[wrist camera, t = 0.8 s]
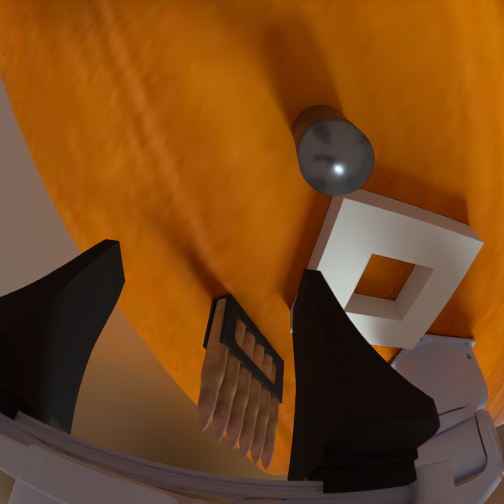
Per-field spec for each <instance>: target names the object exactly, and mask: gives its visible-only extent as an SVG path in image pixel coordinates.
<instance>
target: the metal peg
mask: <svg viewBox="0 0 504 504" xmlns="http://www.w3.org/2000/svg"><path fill="white" fill-rule="evenodd" d="M293 136H294V141H295V146H296V151H297V156H298V162H299V167H300V171H301V173H302V176H303V177H304V179H305V180H306V182H307V183H308V184H309V185H310V186H311V187H312V188H313V189H315V190H317V191H318V192H320V193H323V194H326V195H331V196H341V195H346V194H349V193H352V192H354V191H356V190H357V189H359V188H360V187H361V186H363V185H364V184H365V182H366V181H367V180H368V178H369V177H370V175H371V173H372V170H373V167H374V152H373V148H372V145H371V143H370V141H369V140H368V138H367V137H366V136H365V135H364V134H363V133H362V132H361V131H360V130H359V129H358V128H357V127H356V126H354V125H353V124H352V123H351V122H350V121H349V120H347V119H346V118H345V117H344V116H343V115H342V114H340V113H339V112H338V111H337V110H335V109H333V108H331V107H328V106H322V105H319V106H313V107H310V108H307V109H306V110H304V111H303V112H302V113H301V114H300V115H299V116H298V117H297V119H296V121H295V123H294V128H293Z"/></svg>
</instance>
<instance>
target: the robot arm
mask: <svg viewBox="0 0 504 504" xmlns="http://www.w3.org/2000/svg"><path fill="white" fill-rule="evenodd" d="M124 283H125V277H124V271H123V264H122V258H121V250H120V243H119V241H115V240H109V239H105V240H103V241H102V242H100V243H98V244H96V245H95V246H93V247H91V248H90V249H88V250H87V251H85V252H84V253H82V254H80V255H79V256H77V257H76V258H74V259H73V260H71V261H70V262H68V263H66V264H65V265H63V266H61V267H60V268H58V269H56V270H55V271H53V272H51V273H50V274H48V275H47V276H45V277H43V278H41V279H39V280H37V281H35V282H33V283H31V284H29V285H27V286H25V287H23V288H21V289H19V290H17V291H14V292H11V293H9V294H7V295H4V296H2V297H0V470H2V471H4V472H5V473H7V474H8V475H10V476H11V477H13V478H15V479H16V481H15V484H14V487H13V490H12V493H11V496H10V500H9V503H8V504H217V503H212V502H207V501H202V500H198V499H194V498H189V497H185V496H181V495H177V494H173V493H169V492H166V491H163V490H160V489H158V488H155V487H153V486H149V485H147V484H143V483H140V482H137V481H141V482H145V483H148V484H152V485H156V486H160V487H164V488H168V489H173V490H178V491H183V492H188V493H193V494H199V495H204V496H211V497H218V498H225V499H233V500H234V501H232V504H484V502H485V501H486V500H487V498H488V497H489V496H490V494H491V493H492V492H493V490H494V489H495V488H496V487H497V485H498V484H499V483H500V481H501V479H502V477H503V472H504V466H503V461H502V452H501V447H500V442H499V439H498V435H497V432H496V429H495V426H494V423H493V420H492V418H491V415H490V413H489V412H488V411H487V410H485V408H486V405H487V399H488V390H487V385H486V383H485V380H484V377H483V375H482V372H481V370H480V367H479V365H478V362H477V360H476V358H475V355H474V353H473V351H472V347H473V346H474V344H475V340H474V339H465V338H455V337H447V336H438V335H430V334H424V335H423V337H422V338H421V339H420V341H419V342H418V343H417V344H416V346H415V347H414V348H413V349H406V348H403V349H402V350H401V351H400V353H399V354H398V355H397V356H396V358H395V359H394V360H393V361H392V363H391V364H390V365H389V364H388V363H387V362H386V361H385V360H384V359H383V358H382V357H381V356H380V355H379V354H378V353H377V352H376V350H375V349H374V348H373V347H372V346H371V345H370V344H369V343H368V341H367V340H366V339H365V338H364V337H363V336H362V334H361V333H360V332H359V331H358V329H357V328H356V327H355V325H354V324H353V322H352V321H351V320H350V318H349V317H348V315H347V314H346V312H345V311H344V309H343V308H342V306H341V304H340V303H339V301H338V300H337V298H336V297H335V295H334V293H333V291H332V290H331V288H330V286H329V285H328V283H327V281H326V279H325V278H324V276H323V274H322V273H321V271H319V270H312V269H305V268H304V272H303V275H302V279H301V282H300V286H299V290H298V293H297V297H296V300H295V304H294V307H293V323H292V336H293V350H294V363H295V377H296V397H295V414H294V428H293V439H292V448H291V457H290V465H289V472H288V479H287V481H280V480H265V479H253V478H243V477H234V476H226V475H219V474H212V473H206V472H200V471H194V470H189V469H184V468H179V467H174V466H170V465H165V464H161V463H157V462H153V461H149V460H145V459H141V458H138V457H134V456H130V455H127V454H124V453H121V452H118V451H114V450H111V449H108V448H105V447H102V446H99V445H96V444H94V443H91V442H88V441H86V440H83V439H80V438H78V437H75V436H73V435H70V434H71V426H72V421H73V415H74V409H75V405H76V400H77V396H78V392H79V388H80V385H81V382H82V378H83V375H84V372H85V368H86V366H87V363H88V360H89V357H90V354H91V352H92V349H93V347H94V345H95V343H96V341H97V339H98V337H99V335H100V333H101V331H102V330H103V328H104V326H105V324H106V322H107V320H108V318H109V316H110V315H111V313H112V311H113V309H114V307H115V305H116V303H117V301H118V299H119V296H120V294H121V291H122V288H123V286H124ZM59 452H60V453H59ZM61 453H62V454H61ZM63 454H64V455H63ZM65 455H66V456H65ZM67 456H69V457H71V458H69V457H67ZM72 458H74V459H76V460H74V459H72ZM77 460H78V461H77ZM79 461H81V462H79ZM82 462H84V463H86V464H84V463H82ZM87 464H89V465H91V466H89V465H87ZM92 466H94V467H92ZM95 467H97V468H100V469H102V470H100V469H97V468H95ZM103 470H105V471H103ZM106 471H108V472H106ZM109 472H111V473H109ZM481 472H483V473H482V474H481V475H480V476H479V477H477V478H476V479H474V480H472V481H470V482H468V483H465V484H463V485H461V486H458V487H456V488H455V484H456V483H459V482H461V481H463V480H465V479H468V478H470V477H472V476H474V475H477V474H479V473H481ZM112 473H114V474H112ZM115 474H118V475H120V476H118V475H115ZM121 476H124V477H127V478H124V477H121ZM128 478H130V479H128ZM131 479H134V480H137V481H134V480H131Z"/></svg>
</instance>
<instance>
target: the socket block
mask: <svg viewBox="0 0 504 504" xmlns="http://www.w3.org/2000/svg"><path fill="white" fill-rule="evenodd" d="M483 243H484V242H483V241H482V240H481V239H480V237H479V236H478V235H477V234H476V233H475V231H474V230H473V229H472V228H471V227H470V226H469V225H466V224H464V223H461V222H458V221H456V220H453V219H450V218H447V217H445V216H442V215H439V214H436V213H433V212H431V211H428V210H425V209H422V208H419V207H416V206H413V205H410V204H407V203H404V202H401V201H398V200H395V199H391V198H388V197H385V196H382V195H378V194H375V193H372V192H369V191H365V190H362V189H357V190H356V191H354V192H352V193H349V194H346V195H341V196H333V197H332V200H331V203H330V206H329V209H328V211H327V214H326V217H325V220H324V223H323V226H322V228H321V231H320V234H319V237H318V239H317V242H316V245H315V247H314V250H313V253H312V256H311V258H310V261H309V264H308V266H307V269H312V270H319V271H321V273H322V274H323V276H324V278H325V279H326V281H327V283H328V285H329V286H330V288H331V290H332V291H333V293H334V295H335V297H336V298H337V300H338V301H339V303H340V304H341V306H342V308H343V309H344V311H345V312H346V314H347V315H348V317H349V318H350V320H351V321H352V322H353V324H354V325H355V327H356V328H357V329H358V331H359V332H360V333H361V334H362V336H363V337H364V338H365V339H366V340H367V341H368V343H369V344H371V345H379V346H388V347H397V348H406V349H413V348H414V347H415V346H416V344H417V343H418V342H419V341H420V339H421V338H422V337H423V335H424V334H425V333H426V331H427V330H428V329H429V327H430V326H431V325H432V323H433V322H434V321H435V319H436V318H437V316H438V315H439V314H440V312H441V311H442V309H443V308H444V306H445V305H446V304H447V302H448V301H449V299H450V298H451V296H452V295H453V293H454V292H455V290H456V289H457V287H458V285H459V284H460V282H461V281H462V279H463V278H464V276H465V274H466V273H467V271H468V269H469V268H470V266H471V264H472V263H473V261H474V259H475V258H476V256H477V254H478V252H479V251H480V249H481V247H482V245H483ZM372 254H376V255H381V256H385V257H389V258H393V259H397V260H401V261H405V262H409V263H413V264H416V265H415V267H414V269H413V270H412V272H411V274H410V276H409V277H408V279H407V281H406V283H405V284H404V286H403V288H402V289H401V291H400V293H399V294H398V296H397V298H396V299H395V301H393V300H388V299H382V298H377V297H372V296H366V295H361V294H356V293H353V291H354V289H355V287H356V285H357V283H358V281H359V279H360V277H361V275H362V273H363V271H364V269H365V267H366V265H367V263H368V261H369V259H370V257H371V255H372ZM297 293H298V292H297ZM296 297H297V295H296ZM296 297H295V300H296ZM295 300H294V302H293V305H292V307H291V310H290V332H291V333H292V323H293V307H294V304H295Z"/></svg>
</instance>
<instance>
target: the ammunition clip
mask: <svg viewBox="0 0 504 504" xmlns="http://www.w3.org/2000/svg"><path fill="white" fill-rule="evenodd" d="M203 347H204V348H205V349H206V353H205V358H204V362H203V367H202V372H201V388H200V396H199V401H198V425H199V429H200V431H202V432H203V431H204V430H205V429H206V428H207V426H208V425H209V423H210V421H211V418H212V416H213V433H214V437H215V440H216V441H220V439H221V438H222V436H223V435H224V432H225V430H226V434H227V442H228V446H229V448H230V450H233V449H234V447H235V446H236V444H237V442H238V440H239V447H240V452H241V454H242V456H243V457H246V455H247V454H248V452H249V450H251V456H252V460H253V462H254V463H255V464H257V462H258V461H259V459H260V457H261V460H262V464H263V467H264V469H267V468H268V467H269V465H270V463H271V460H272V457H273V452H274V444H275V437H276V431H277V427H278V414H279V403H282V395H283V374H284V361H283V360H282V359H281V357H280V356H279V355H278V354H277V352H276V351H275V350H274V349H273V347H272V346H271V345H270V343H269V342H268V341H267V340H266V338H265V337H264V336H263V335H262V333H261V332H260V331H259V329H258V328H257V327H256V326H255V324H254V323H253V322H252V320H251V319H250V318H249V317H248V315H247V314H246V313H245V311H244V310H243V309H242V307H241V306H240V305H239V303H238V302H237V301H236V300H235V298H234V297H233V296H232V294H227V295H225V296H222V297H219V298H216V299H214V300H212V305H211V310H210V315H209V320H208V324H207V329H206V334H205V338H204V343H203Z"/></svg>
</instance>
